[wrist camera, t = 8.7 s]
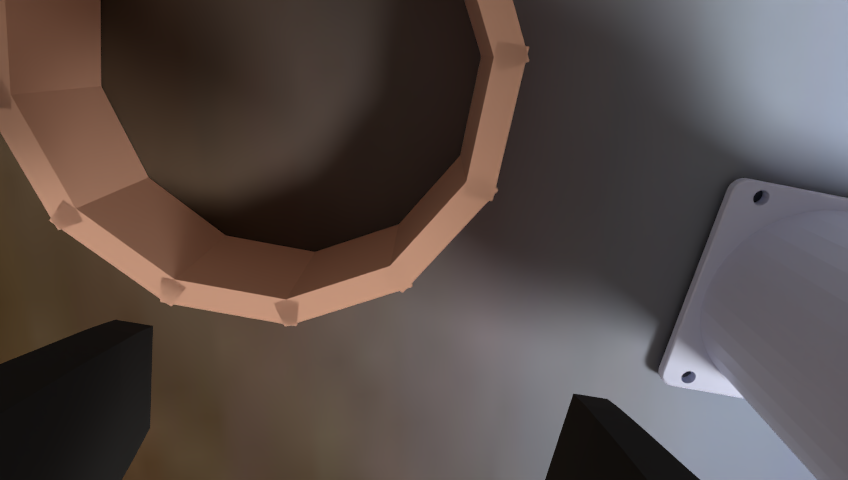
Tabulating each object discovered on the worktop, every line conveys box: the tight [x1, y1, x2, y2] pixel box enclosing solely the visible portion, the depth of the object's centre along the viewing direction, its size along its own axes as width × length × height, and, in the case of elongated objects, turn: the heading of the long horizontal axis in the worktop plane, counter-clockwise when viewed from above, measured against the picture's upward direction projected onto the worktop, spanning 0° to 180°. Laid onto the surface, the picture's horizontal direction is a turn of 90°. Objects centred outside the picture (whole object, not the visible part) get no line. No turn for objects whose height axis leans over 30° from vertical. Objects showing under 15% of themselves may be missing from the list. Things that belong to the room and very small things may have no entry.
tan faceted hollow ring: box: [0, 0, 529, 327], centre depth 16 cm, size 14×14×4 cm
